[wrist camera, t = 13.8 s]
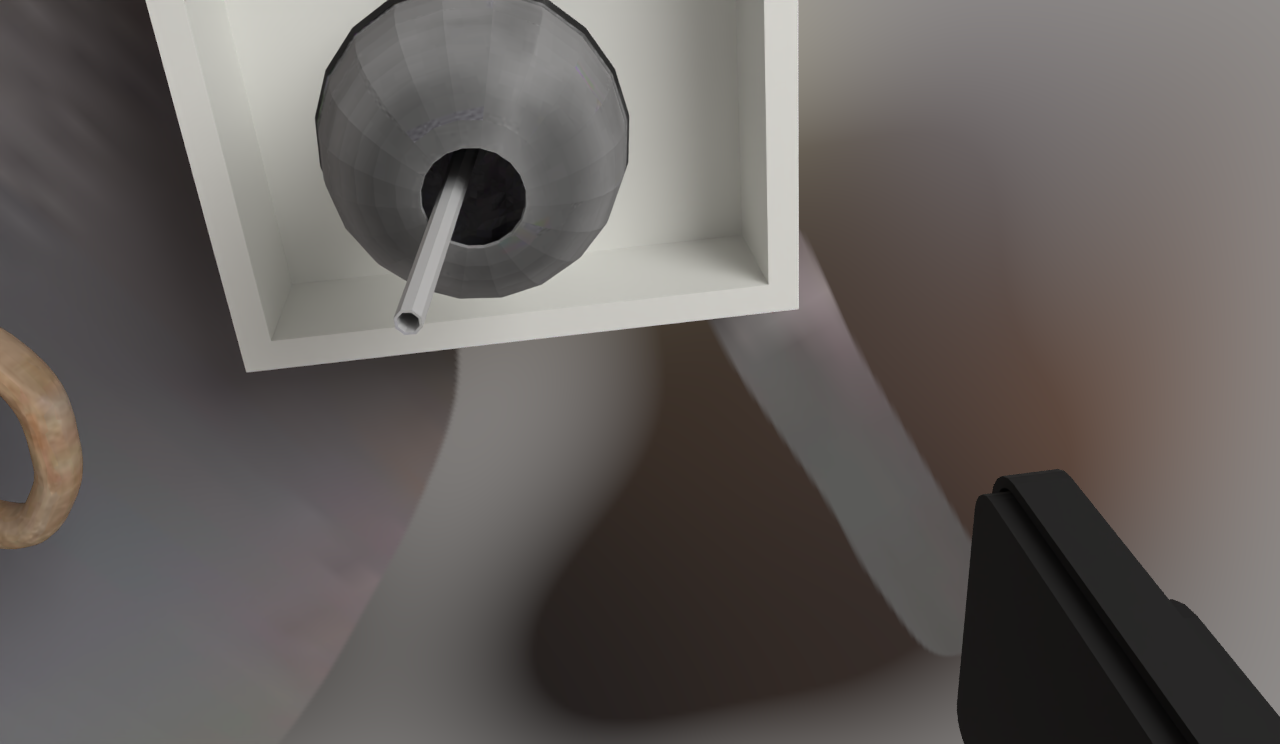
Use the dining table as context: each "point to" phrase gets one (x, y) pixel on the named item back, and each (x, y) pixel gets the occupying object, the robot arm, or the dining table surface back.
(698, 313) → the white bin
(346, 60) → the beverage cup
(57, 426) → the ceramic bowl
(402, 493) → the dining table surface
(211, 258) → the dining table surface
